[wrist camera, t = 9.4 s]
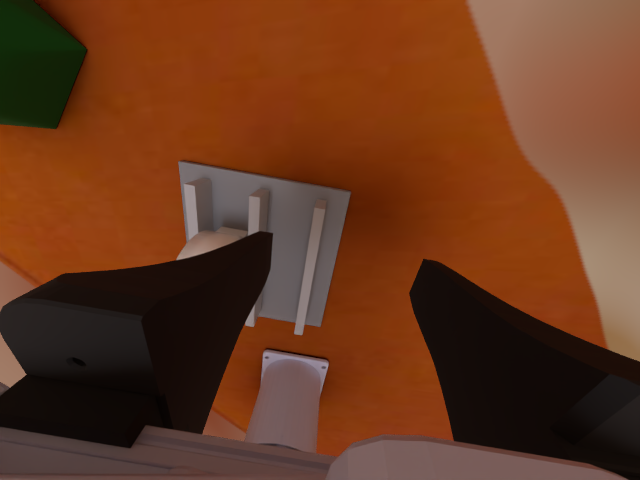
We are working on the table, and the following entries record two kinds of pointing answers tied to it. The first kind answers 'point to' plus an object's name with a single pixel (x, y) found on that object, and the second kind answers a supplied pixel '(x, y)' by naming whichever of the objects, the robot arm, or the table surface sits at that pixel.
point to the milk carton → (35, 65)
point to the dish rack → (280, 219)
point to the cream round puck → (210, 241)
